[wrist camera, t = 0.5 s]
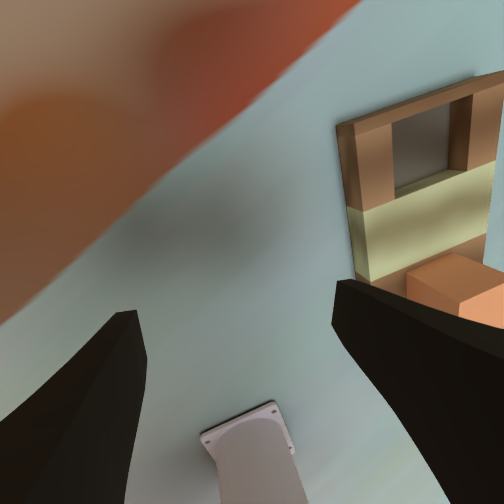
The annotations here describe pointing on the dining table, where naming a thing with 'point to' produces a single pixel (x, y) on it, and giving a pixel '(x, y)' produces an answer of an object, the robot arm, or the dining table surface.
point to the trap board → (421, 179)
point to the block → (459, 289)
